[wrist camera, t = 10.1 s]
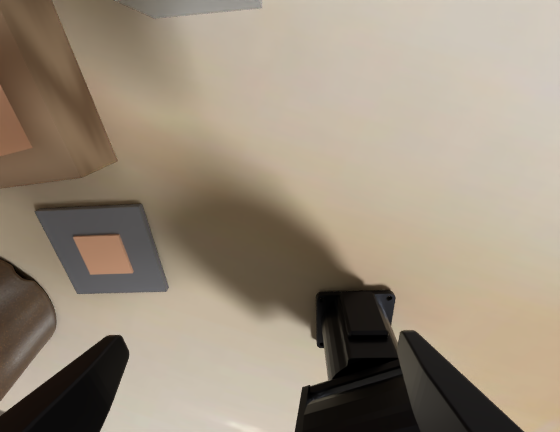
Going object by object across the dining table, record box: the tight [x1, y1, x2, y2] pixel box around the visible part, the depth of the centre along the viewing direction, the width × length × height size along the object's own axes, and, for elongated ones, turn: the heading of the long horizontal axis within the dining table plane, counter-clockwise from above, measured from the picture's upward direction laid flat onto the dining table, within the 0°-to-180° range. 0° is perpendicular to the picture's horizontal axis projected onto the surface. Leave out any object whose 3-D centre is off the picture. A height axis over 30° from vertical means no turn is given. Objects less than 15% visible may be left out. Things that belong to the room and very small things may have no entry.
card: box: [35, 204, 169, 294], centre depth 22 cm, size 8×8×1 cm
